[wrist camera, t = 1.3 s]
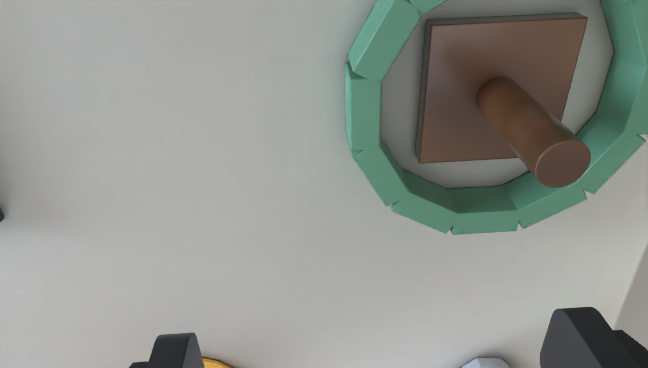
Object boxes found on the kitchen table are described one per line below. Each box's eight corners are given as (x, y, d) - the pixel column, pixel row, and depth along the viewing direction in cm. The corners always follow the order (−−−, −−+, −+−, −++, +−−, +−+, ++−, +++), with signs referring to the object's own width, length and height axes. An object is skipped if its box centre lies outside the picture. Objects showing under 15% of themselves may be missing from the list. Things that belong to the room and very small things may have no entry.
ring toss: (425, 19, 21) (481, 76, 15) (577, 12, 21) (696, 65, 15) (414, 154, 25) (455, 245, 19) (543, 147, 25) (628, 235, 19)
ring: (343, -70, 19) (349, -65, 17) (688, -85, 19) (733, -81, 17) (346, 214, 27) (350, 241, 25) (592, 200, 27) (616, 225, 25)
